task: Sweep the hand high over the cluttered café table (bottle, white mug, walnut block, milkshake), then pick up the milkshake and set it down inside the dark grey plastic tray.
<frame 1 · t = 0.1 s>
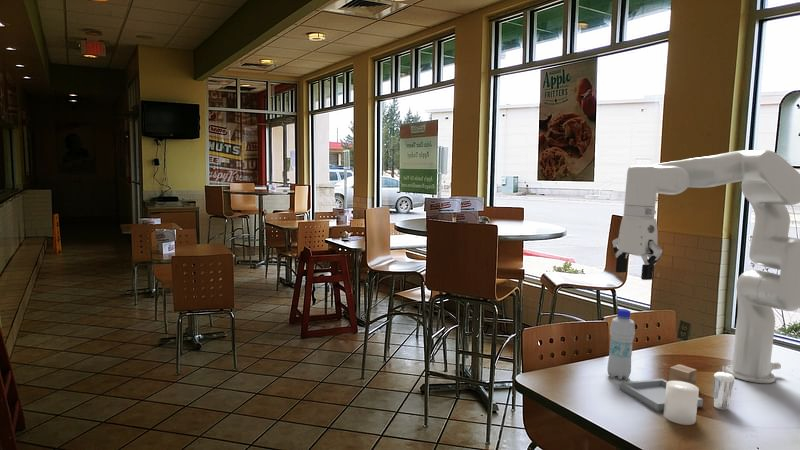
hand: (633, 275, 150), 31 cm above the table, tool pointing down, fingers open, 9 cm apart
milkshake: (720, 407, 143), on the table
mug: (679, 418, 135), on the table
bottle: (618, 377, 161), on the table
tray: (659, 397, 147), on the table
walnut block: (681, 385, 156), on the table
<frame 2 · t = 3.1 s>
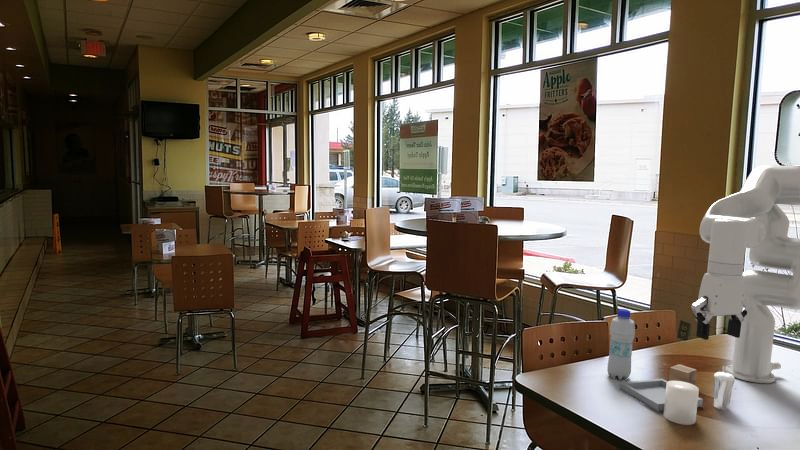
hand: (717, 337, 138), 19 cm above the table, tool pointing down, fingers open, 9 cm apart
nothing on the table moved.
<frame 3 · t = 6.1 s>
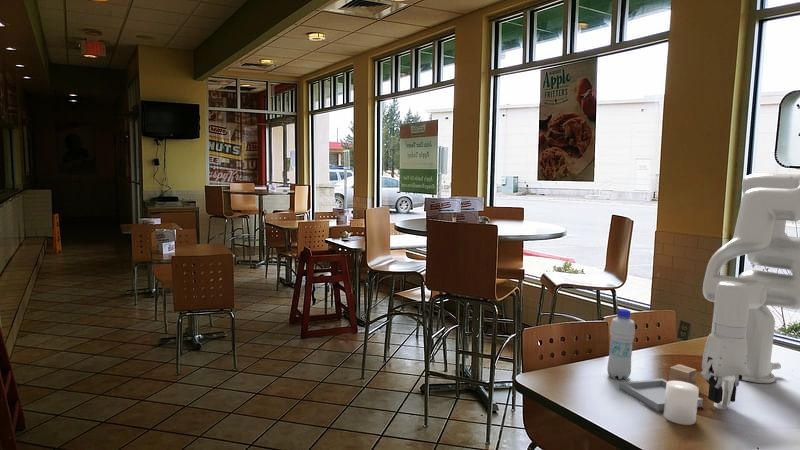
hand: (721, 399, 142), 2 cm above the table, tool pointing down, fingers closed on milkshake, 4 cm apart
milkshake: (720, 407, 143), on the table, touching gripper
everything else where it was.
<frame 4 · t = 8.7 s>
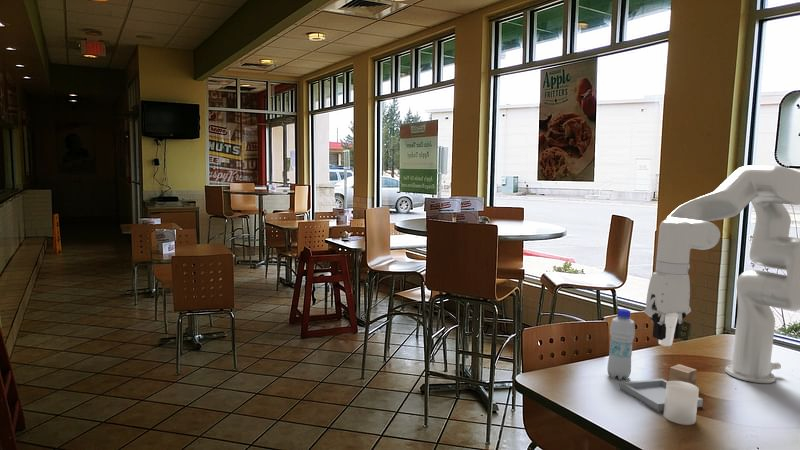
hand: (665, 337, 145), 16 cm above the table, tool pointing down, fingers closed on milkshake, 4 cm apart
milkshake: (664, 344, 145), point 14 cm above the table, touching gripper
everything else where it was.
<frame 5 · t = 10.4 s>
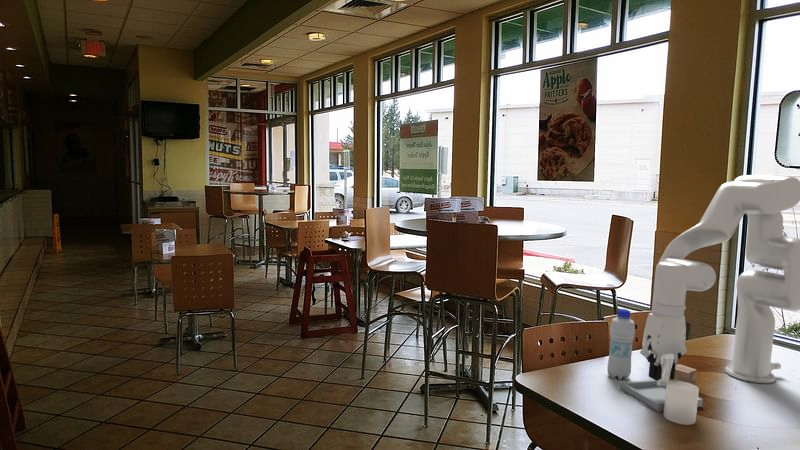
hand: (661, 377, 146), 6 cm above the table, tool pointing down, fingers closed on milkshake, 4 cm apart
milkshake: (660, 384, 146), point 4 cm above the table, touching gripper
everything else where it was.
when the fingers open (3 cm above the table, at t = 11.7 s): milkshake stays where it is, resting on tray.
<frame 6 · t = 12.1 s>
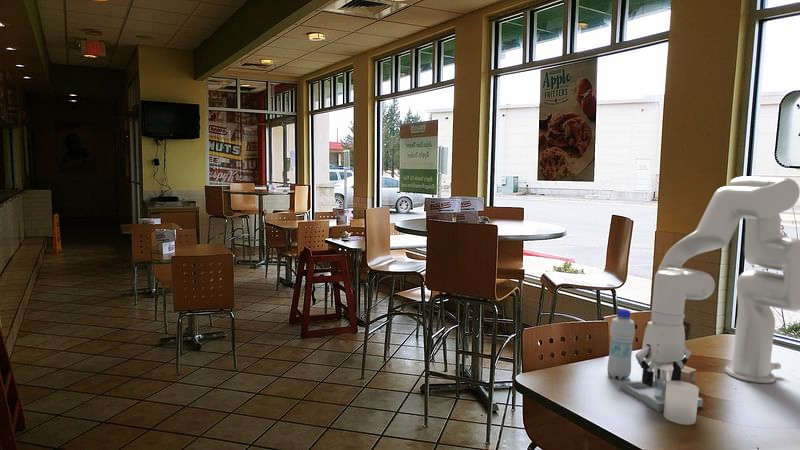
hand: (660, 383, 146), 4 cm above the table, tool pointing down, fingers open, 8 cm apart
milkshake: (660, 396, 147), resting on tray
everything else where it was.
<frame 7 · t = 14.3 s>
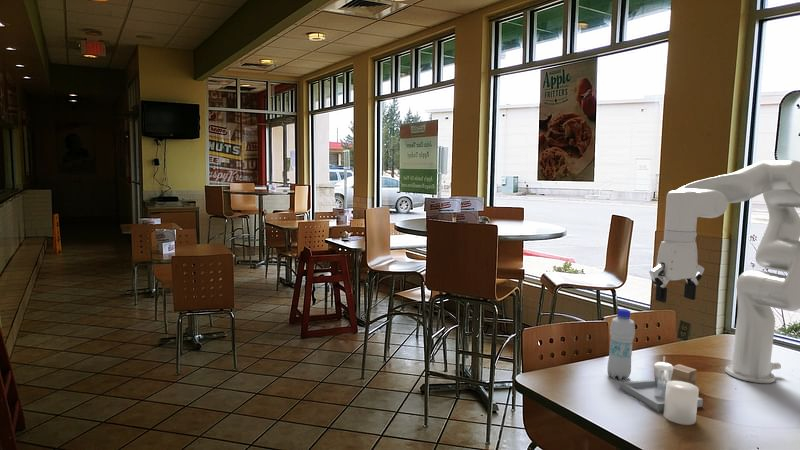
hand: (675, 299, 150), 25 cm above the table, tool pointing down, fingers open, 9 cm apart
nothing on the table moved.
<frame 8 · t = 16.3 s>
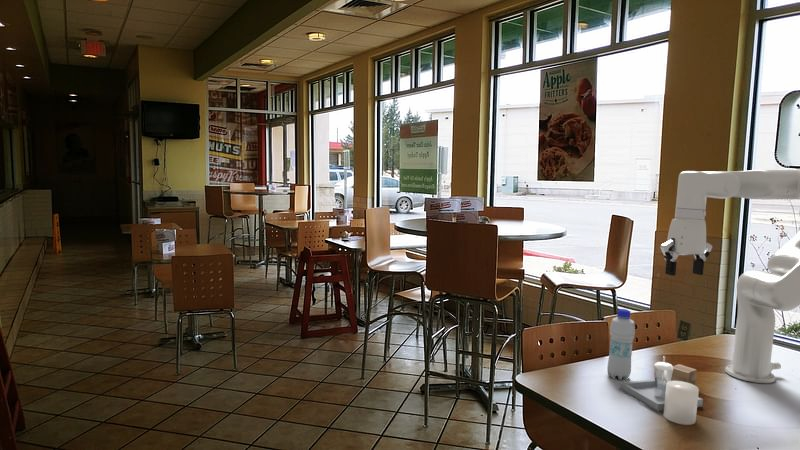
hand: (684, 274, 160), 30 cm above the table, tool pointing down, fingers open, 9 cm apart
nothing on the table moved.
at the end: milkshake inside the target area on the tray (0.5 cm from its centre), point 0.3 cm above the tray's base; the gripper is holding nothing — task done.
